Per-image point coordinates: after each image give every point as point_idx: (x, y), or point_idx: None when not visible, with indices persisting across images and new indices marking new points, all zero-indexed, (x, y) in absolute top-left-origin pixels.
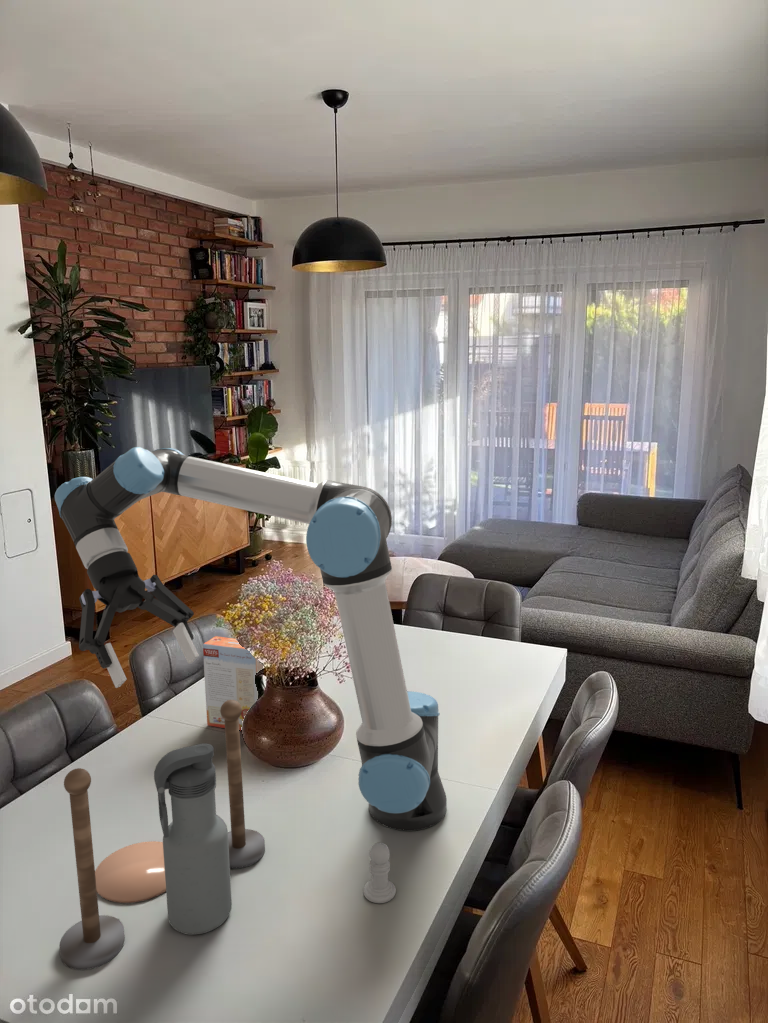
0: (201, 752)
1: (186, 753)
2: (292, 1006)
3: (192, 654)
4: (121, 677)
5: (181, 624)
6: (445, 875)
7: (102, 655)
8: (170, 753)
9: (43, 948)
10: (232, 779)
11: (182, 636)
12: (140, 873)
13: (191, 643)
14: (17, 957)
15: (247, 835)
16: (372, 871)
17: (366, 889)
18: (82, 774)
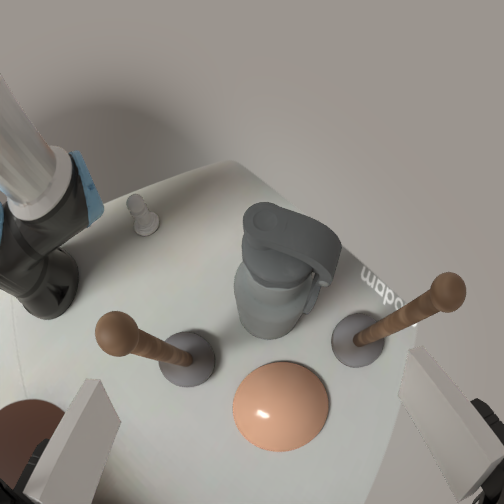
0: (270, 213)
1: (293, 226)
2: (268, 192)
3: (98, 398)
4: (427, 353)
5: (35, 491)
6: (105, 206)
7: (499, 423)
8: (312, 253)
9: (387, 365)
10: (169, 345)
11: (71, 468)
12: (284, 400)
13: (70, 416)
14: (403, 368)
15: (169, 364)
16: (147, 211)
17: (153, 227)
18: (450, 276)
